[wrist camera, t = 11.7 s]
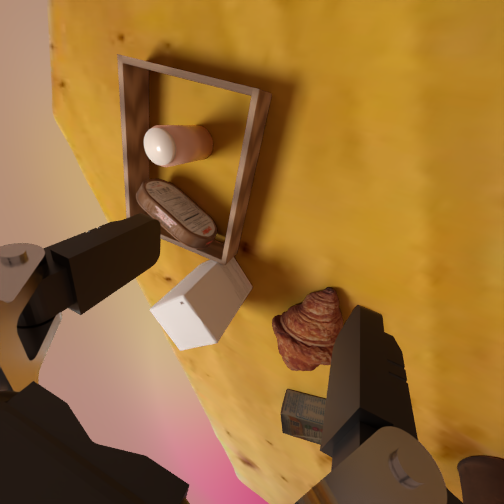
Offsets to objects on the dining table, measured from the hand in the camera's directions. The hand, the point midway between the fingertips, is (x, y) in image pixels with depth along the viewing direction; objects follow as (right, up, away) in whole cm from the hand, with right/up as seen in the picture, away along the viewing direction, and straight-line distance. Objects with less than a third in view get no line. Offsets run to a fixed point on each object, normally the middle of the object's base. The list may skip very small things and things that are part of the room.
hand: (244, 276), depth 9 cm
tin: (-11, +9, +36) cm, 39 cm away
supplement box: (-5, -4, +40) cm, 41 cm away
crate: (-9, +15, +32) cm, 37 cm away
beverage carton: (+18, -35, +47) cm, 60 cm away
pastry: (+12, -14, +38) cm, 42 cm away
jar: (-8, +18, +30) cm, 36 cm away
